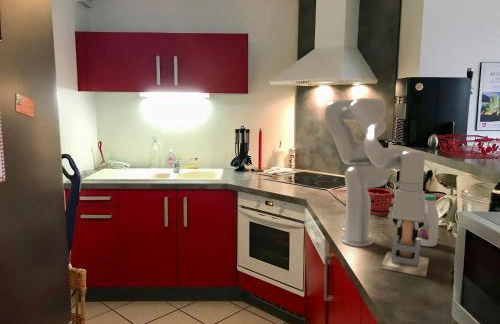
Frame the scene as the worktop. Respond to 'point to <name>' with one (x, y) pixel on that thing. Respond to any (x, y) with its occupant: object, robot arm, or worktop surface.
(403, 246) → the collar stand
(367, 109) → the robot arm
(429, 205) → the milk bottle
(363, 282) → the worktop surface
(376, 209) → the plant pot
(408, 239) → the peg
